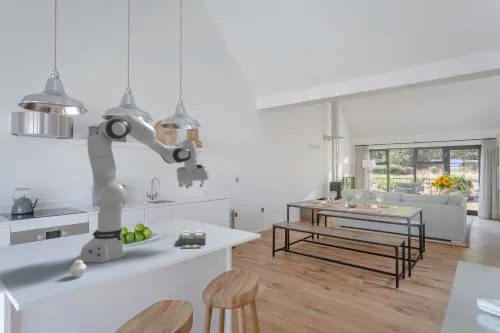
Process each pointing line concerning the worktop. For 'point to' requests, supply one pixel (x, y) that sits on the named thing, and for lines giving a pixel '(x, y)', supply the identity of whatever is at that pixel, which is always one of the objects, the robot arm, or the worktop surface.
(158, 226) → the worktop surface
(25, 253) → the worktop surface
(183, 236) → the button front left
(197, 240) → the button board
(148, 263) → the worktop surface
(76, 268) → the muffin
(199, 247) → the pattern card
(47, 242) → the worktop surface
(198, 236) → the button front right
